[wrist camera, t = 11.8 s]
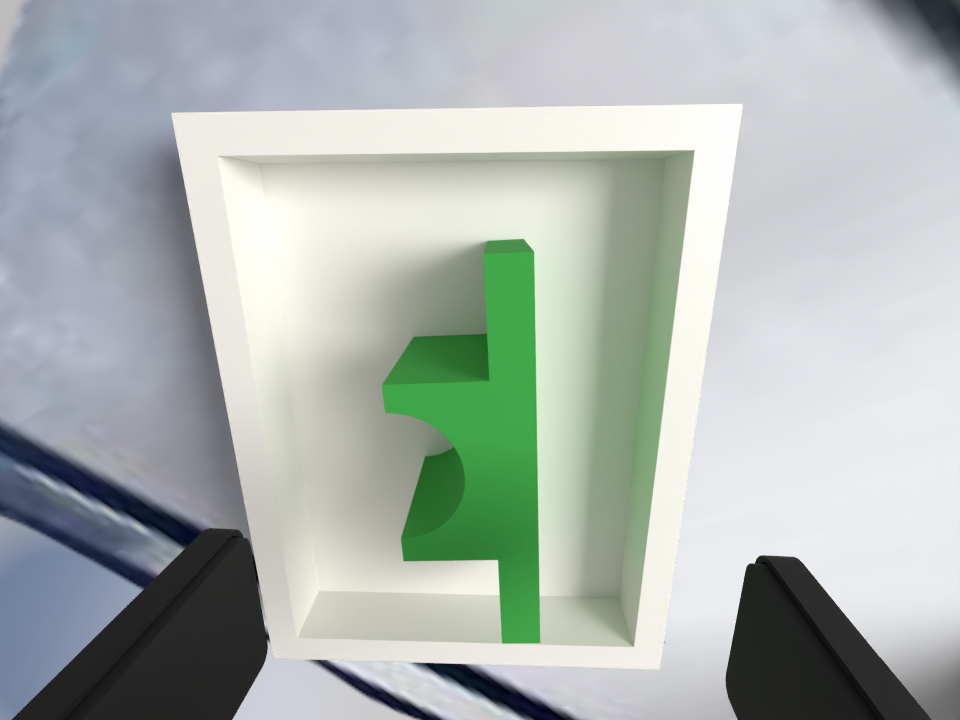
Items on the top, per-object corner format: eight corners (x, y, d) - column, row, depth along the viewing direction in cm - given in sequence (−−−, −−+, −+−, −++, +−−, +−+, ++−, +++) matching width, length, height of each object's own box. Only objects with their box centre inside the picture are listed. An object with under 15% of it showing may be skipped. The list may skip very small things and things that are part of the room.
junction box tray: (693, 125, 14) (742, 103, 11) (636, 602, 20) (659, 669, 17) (234, 131, 15) (171, 113, 12) (305, 594, 20) (273, 658, 17)
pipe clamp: (404, 244, 15) (365, 257, 10) (523, 238, 15) (535, 248, 10) (433, 543, 18) (412, 648, 14) (530, 541, 18) (541, 647, 14)
